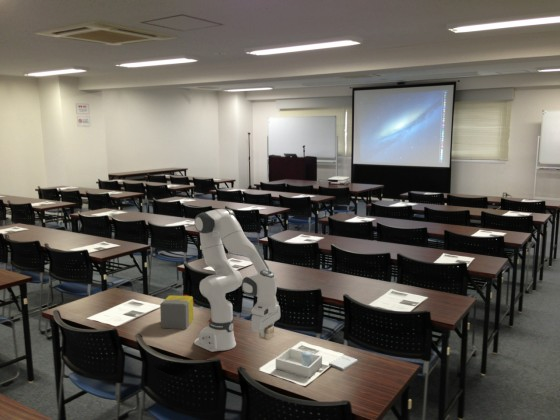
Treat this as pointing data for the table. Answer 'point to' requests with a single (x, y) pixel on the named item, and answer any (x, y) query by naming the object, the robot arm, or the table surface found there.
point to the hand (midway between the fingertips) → (266, 333)
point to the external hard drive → (343, 362)
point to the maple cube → (268, 333)
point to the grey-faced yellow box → (176, 312)
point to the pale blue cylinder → (306, 358)
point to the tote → (297, 363)
